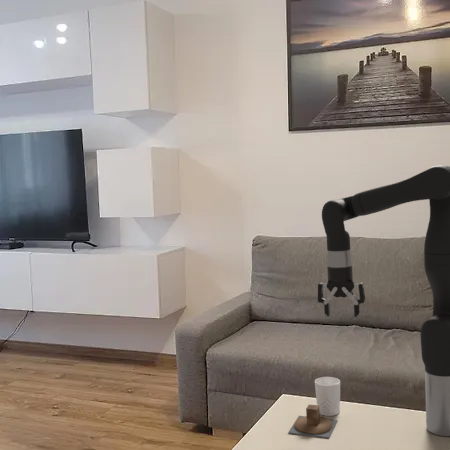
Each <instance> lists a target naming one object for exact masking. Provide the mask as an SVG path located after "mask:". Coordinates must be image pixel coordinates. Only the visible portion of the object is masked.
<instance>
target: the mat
mask: <svg viewBox="0 0 450 450" xmlns="http://www.w3.org/2000/svg"><path fill="white" fill-rule="evenodd" d="M305 416H306V415H298V417H297V418H296V419H295V421H296V420H297V419H299V418H301V417H305ZM328 419H329V420H331V422H332V429H331V430H330V431H328V432H326V433H322V434H306V433H302V432H300V431H298V430H297V429H296V428H295V422H294V423H293V425H292V426H291V427H290V429H289V431H288V432H287V434H288V435H297V436H306V437H313V438H320V439H321V438H323V439H330V437H331V435H332V434H333V431H334V430H335V427H336V425H337V423H338V421H339V420H338V419H334V418H333V419H332V418H328Z"/></svg>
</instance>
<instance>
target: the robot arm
mask: <svg viewBox="0 0 450 450" xmlns="http://www.w3.org/2000/svg"><path fill="white" fill-rule="evenodd" d="M425 200H428V201H429V222H428V225H427V229H426V233H425V238H424V244H423V246H424V247H423V248H424V249H423V253H424V254H423V257H424V259H423V261H424V264H423V265H424V272H425V276H426V278H427V281H428V284H429V286H430V289H431V293H432V299H433V301H432V302H433V304H432V305H433V306H432V315H431V317H430V318H428V319H426V320H425V321H424V322H423V323H422V326H421V330H420V349H421V360H422V362H423V364H424V365H423V366H424V384H425V385H424V386H425V416H426V417H425V423H426V424H425V425H426V430H427V431H428V432H430V433H431V434H433V435H436V436H441V437H442V436H443V437H450V166H449V165H446V164H441V165H433V166H430V167H429V168H427V169H425V170H423V171H421V172H420V173H417V174H415V175H413V176H411V177H409V178H406V179H404V180H400V181H397V182H395V183H390V184H386V185H382V186H378V187H373V188H370V189H366V190H363V191H360V192H358V193H356V194H354V195H351V196H347V197H346V196H345V197H343V198H339V199H332V200H328V201H326V202H325V203H324V204H323V207H322V209H321V220H322V224H323V229H324V232H325V235H326V251H327V252H326V253H327V254H326V266H327V268H326V269H327V270H326V271H327V283H325V282H318V284H317V302H318V303H321V304H323V307H324V309H323V310H324V315H326V316H327V317H330V316H331V304H330V301H331V299H332V298H333V297H335V298H347V297H348V298H349V300H350V301H351V302H352V303H353V304H354V305H353V310H354V311H353V314H354V315H353V316H354V318H355V317H356V318H357V317H358V316H359V315H360V312H361V311H360V310H361V309H360V305H361V304H363V303H364V302H365V301H366V295H365V285H364V282H363V281H362V282H359V283H358V282H357V283H355V282H354V280H353V260H352V259H353V258H352V257H353V256H352V251H351V237H350V233H349V231H347V230H346V228H345V222H346V221H349V220H352V219H355V218H358V217H363V216H367V215H368V216H369V215H372V214H375V213H379V212H382V211H386V210H389V209H391V208H394V207H397V206H400V205H403V204H406V203H412V202H417V201H425ZM354 288H355V289H356V290H357V291H358V293H359V294H358V295H359V298H358V297H357V296H356V294H355V293H354V292H353V290H354ZM326 289H328V291H329V292H330V293H328V295H327V297H326V298H324V291H325V290H326Z"/></svg>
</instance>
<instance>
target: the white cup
mask: <svg viewBox="0 0 450 450" xmlns="http://www.w3.org/2000/svg"><path fill="white" fill-rule="evenodd" d="M314 388H315V399H316V405H319V409H320V416H323V417H334V416H337V415H338V414H340V410H341V408H340V406H341V404H340V403H341V380H340V379H339V378H337V377H333V376H322V377H321V376H320V377H318V378H315V380H314Z"/></svg>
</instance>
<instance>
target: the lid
mask: <svg viewBox="0 0 450 450" xmlns="http://www.w3.org/2000/svg"><path fill="white" fill-rule="evenodd" d="M305 410H306V411H305V414H306V415H304V416H305V417H301V418H299V419H297V418H296V419H297V420H296V419H295V421H294V423H295V428H296V429H297V430H298V431H300V432H302V433H306V434H322V433H326V432H328V431H330V430H331V429H332V422H331V420H329V419H330V418H327V417H326V416H322V415H321V414H320V409H319V405H317V404H316V405H315V404H308V405H307V407H306V408H305Z"/></svg>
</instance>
